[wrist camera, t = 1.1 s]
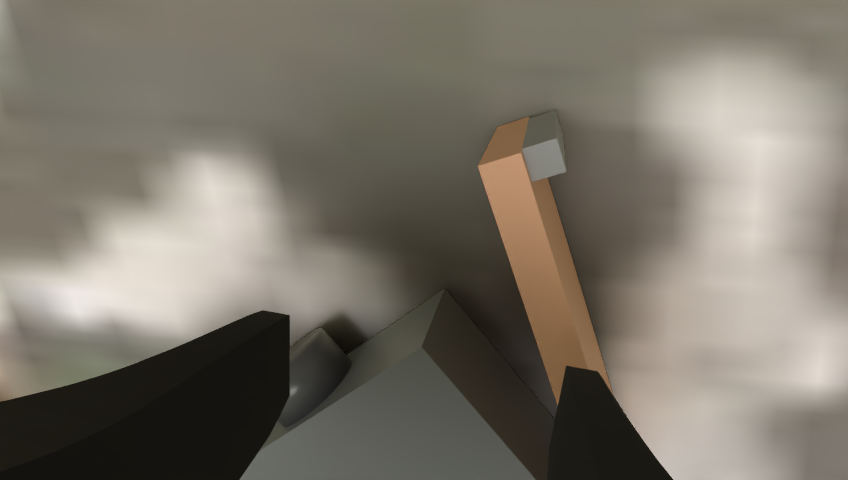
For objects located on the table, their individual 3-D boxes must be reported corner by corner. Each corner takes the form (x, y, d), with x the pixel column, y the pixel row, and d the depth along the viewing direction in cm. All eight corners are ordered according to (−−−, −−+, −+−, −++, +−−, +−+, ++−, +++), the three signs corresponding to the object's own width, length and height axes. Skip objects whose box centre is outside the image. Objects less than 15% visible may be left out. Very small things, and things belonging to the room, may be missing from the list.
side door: (662, 480, 21) (695, 615, 16) (612, 486, 22) (629, 619, 17) (555, 107, 17) (556, 141, 13) (497, 126, 18) (477, 166, 13)
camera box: (610, 486, 22) (624, 594, 18) (397, 582, 26) (368, 688, 22) (415, 253, 20) (380, 313, 16) (220, 395, 24) (152, 472, 20)
